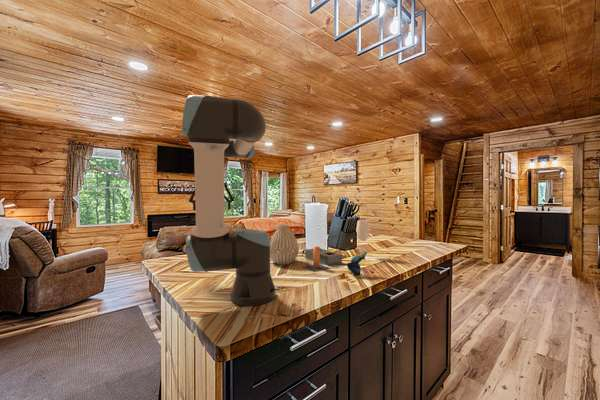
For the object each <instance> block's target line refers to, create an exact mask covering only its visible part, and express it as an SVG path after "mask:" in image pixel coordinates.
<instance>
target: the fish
mask: <svg viewBox="0 0 600 400" xmlns="http://www.w3.org/2000/svg"><path fill="white" fill-rule="evenodd" d="M367 254H368V251H363V252H361V253H360V254H355V255H354V256H352V258H351V260H350V262H347V263H346V266H347V269H348V270H349V272H351V273H352V274H354V275H356V276H358V275H360V274H361V273H362V272H361V271H362V270H361V265H360V262H362V261H363V260H364V261H366V257H367Z"/></svg>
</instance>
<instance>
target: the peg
mask: <svg viewBox="0 0 600 400" xmlns="http://www.w3.org/2000/svg"><path fill="white" fill-rule="evenodd" d="M312 249H313V261H312V265H313V268H316V269H318V268H320V265H321V263H320V246H318V245H317V246H316V245H315V246H313V247H312Z"/></svg>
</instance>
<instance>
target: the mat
mask: <svg viewBox="0 0 600 400" xmlns="http://www.w3.org/2000/svg"><path fill="white" fill-rule="evenodd" d="M302 268H304V269H306V270H309V271H311V272H313V273H315V272H316V273H317V272H321V271H326V270H331V269H332V268H331V267H330V266H327V265H324V264H320V268H318V269H316V268H313V264H311V265H305V266H304V265H303V266H302Z"/></svg>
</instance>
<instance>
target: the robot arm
mask: <svg viewBox="0 0 600 400" xmlns="http://www.w3.org/2000/svg"><path fill="white" fill-rule="evenodd" d="M181 122H182V123H181V126H182V127H181V134H182V136H184V137H186V138H188V139H187V142H188V144H189V145H190V146H191V148H193V154H194V156H193V157H194V159H193V160H194V162H193V163H194V189H193V191H192V193H191V196H190V197H189V199H188V202H189V203H192V210H193V211H195V226H194V227H193V228H192V229H191V231H190V235H188V236H186V238H185V245H186V246H185V247H186V249H185V250H186V257H187V263H188V265H189V268H190V270H191V271H192V272H195V273H201V272H204V273H208V272H214V271H215V272H216V271H226V270H234V269H235V278H234V281H233V284H232V287H231V291H230V301H231V302H232V303H234V304H236V305H239V306H244V307H245V306H247V307H248V306H249V307H251V306H253V307H254V306H261V305H264V304H267V303H270V302H271V301H273V300H274V299H275V298H276V287H275V284H274V281H273V279H272V275H271V258H270V246H271V245H270V239H271V238H270V235H269V233H268V232H266V231H264V230H261V229H259V230H258V229H254V228H252V229H251V228H237V229H236V230H235V232H234V233H230V229H229V227H228V226H227V225H225V216H226V218H228V217H229V210H231V203H233V202H235V199H234V197H233V195H232V193H231V191H230V189H229V187H228V183H227V182H226V181H225V158H238V159H241V158H244V159H252V158H254V156H255V155H254V154H255V144H256V143H257V142H260V141H261V140H262V138H263V137H264V135H265V133H266V130H267V125H266V124H267V123H266V119H265V117H264V116H263V114H262V112H261V111H260V110H259V109H258V108H257V107H256V106H255V105H254V104H252V103H250V102H249V101H246V100H243V99H238V98H237V99H234V98H228V97H221V96H215V95H214V96H213V95H207V94H206V95H205V94H200V95H199V94H191V95H188V96H186V99H185V102H184V105H183V112H182V121H181ZM225 191H226V194H227V195H228V196H229V197H227V195H226V194H225ZM194 198H195V199H194ZM225 201H226V203H225Z"/></svg>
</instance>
